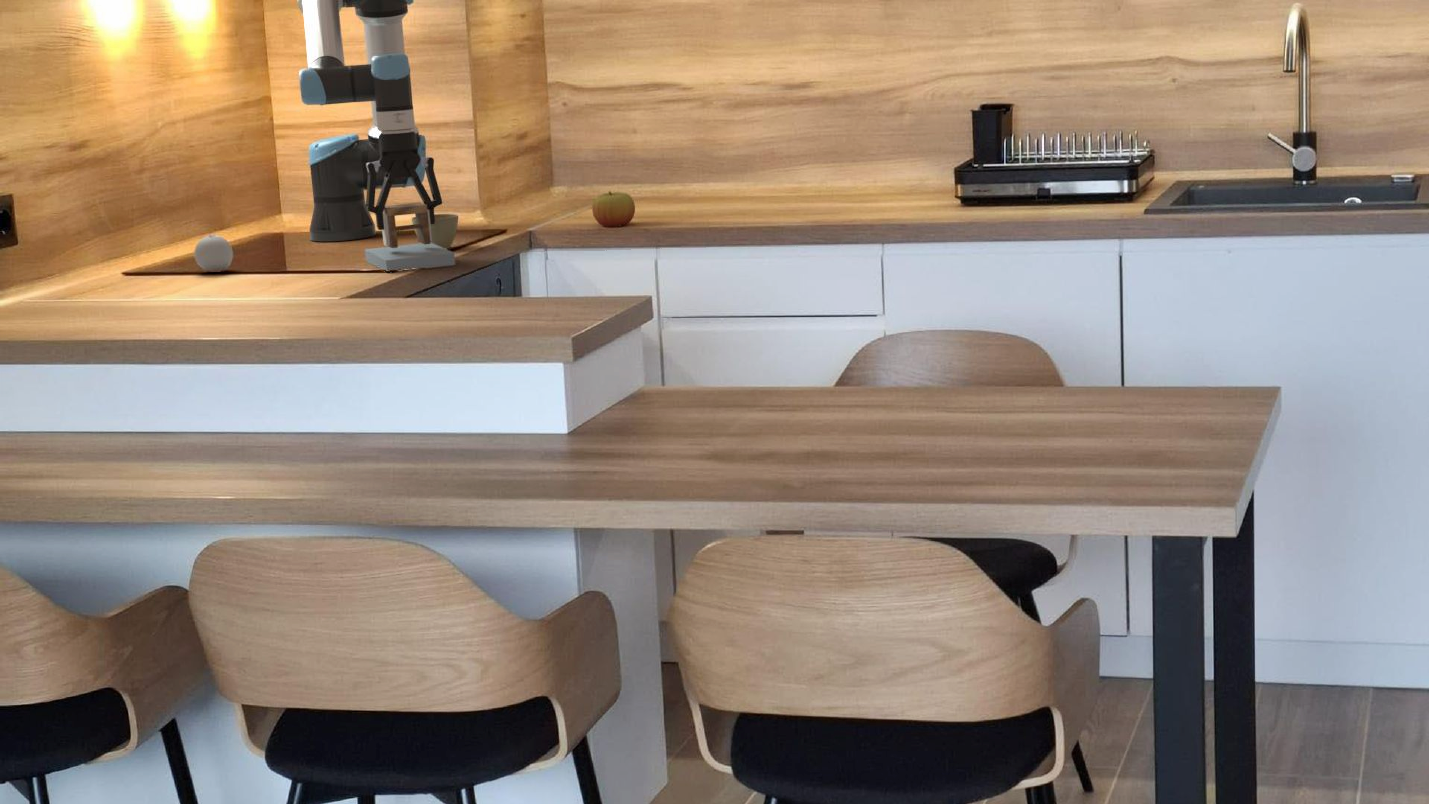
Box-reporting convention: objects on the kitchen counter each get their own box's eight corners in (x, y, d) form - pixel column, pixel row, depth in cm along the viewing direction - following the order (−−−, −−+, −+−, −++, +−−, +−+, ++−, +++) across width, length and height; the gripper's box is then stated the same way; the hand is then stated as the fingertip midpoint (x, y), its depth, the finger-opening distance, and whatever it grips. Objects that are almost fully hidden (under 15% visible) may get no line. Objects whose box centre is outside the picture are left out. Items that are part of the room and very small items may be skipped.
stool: (392, 248, 354) (388, 208, 352) (385, 244, 359) (381, 206, 358) (430, 243, 357) (426, 204, 355) (423, 240, 362) (419, 202, 360)
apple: (586, 228, 396) (583, 193, 395) (604, 222, 405) (602, 188, 403) (625, 228, 393) (622, 193, 391) (643, 222, 401) (640, 187, 400)
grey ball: (201, 276, 358) (196, 237, 356) (193, 272, 365) (189, 234, 363) (239, 271, 361) (234, 233, 359) (230, 267, 368) (226, 230, 366)
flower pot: (452, 252, 371) (448, 218, 370) (407, 253, 373) (404, 220, 372) (467, 245, 381) (464, 212, 379) (424, 246, 383) (421, 214, 381)
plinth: (365, 261, 365) (364, 249, 365) (431, 253, 371) (430, 242, 370) (387, 272, 347) (385, 260, 347) (455, 264, 353) (454, 252, 352)
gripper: (349, 136, 346) (361, 250, 351) (451, 128, 353) (461, 239, 358) (341, 135, 352) (353, 246, 358) (442, 126, 360) (452, 235, 365)
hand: (407, 242), depth 358 cm, fingers closed on stool, 8 cm apart
